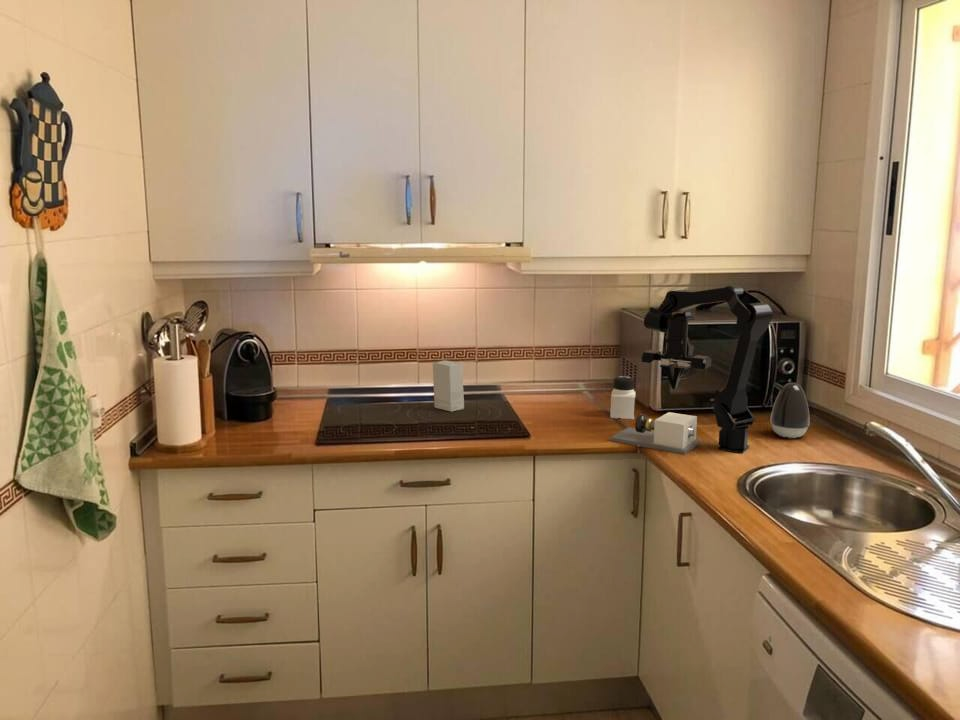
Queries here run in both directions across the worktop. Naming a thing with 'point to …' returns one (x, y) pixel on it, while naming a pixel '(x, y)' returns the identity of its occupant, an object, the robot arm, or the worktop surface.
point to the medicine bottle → (623, 398)
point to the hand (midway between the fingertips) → (674, 389)
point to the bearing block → (663, 434)
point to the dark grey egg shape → (790, 411)
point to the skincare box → (448, 385)
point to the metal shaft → (652, 425)
